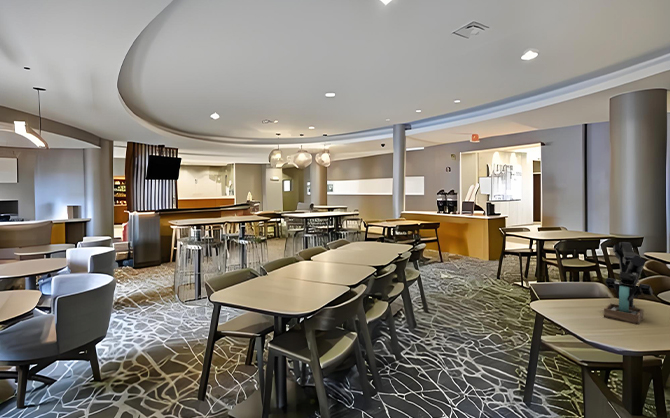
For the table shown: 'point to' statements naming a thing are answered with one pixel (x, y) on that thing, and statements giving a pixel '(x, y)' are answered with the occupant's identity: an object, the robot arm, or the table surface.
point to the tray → (623, 314)
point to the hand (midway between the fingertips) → (622, 299)
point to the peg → (623, 299)
